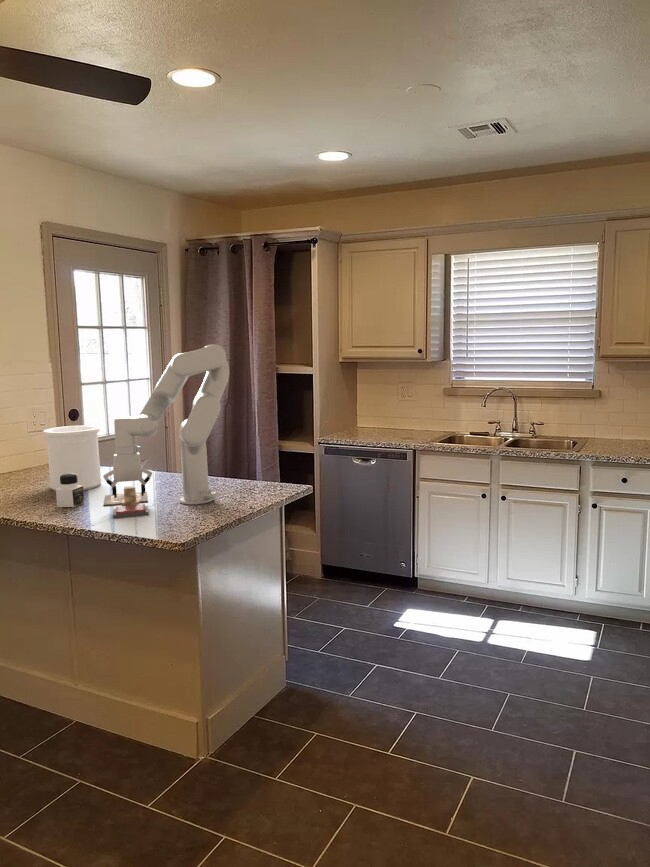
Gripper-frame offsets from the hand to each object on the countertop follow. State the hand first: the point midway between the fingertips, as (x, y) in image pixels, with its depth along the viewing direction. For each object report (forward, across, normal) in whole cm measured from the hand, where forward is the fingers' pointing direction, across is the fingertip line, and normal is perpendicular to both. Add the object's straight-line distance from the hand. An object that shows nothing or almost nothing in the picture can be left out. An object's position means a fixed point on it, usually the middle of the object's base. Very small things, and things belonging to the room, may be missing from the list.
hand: (129, 496), depth 251 cm
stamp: (+4, 0, 0) cm, 4 cm away
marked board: (+4, +1, -13) cm, 14 cm away
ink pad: (+4, 0, +10) cm, 11 cm away
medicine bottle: (+5, +22, -12) cm, 25 cm away
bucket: (+5, +22, -46) cm, 51 cm away
